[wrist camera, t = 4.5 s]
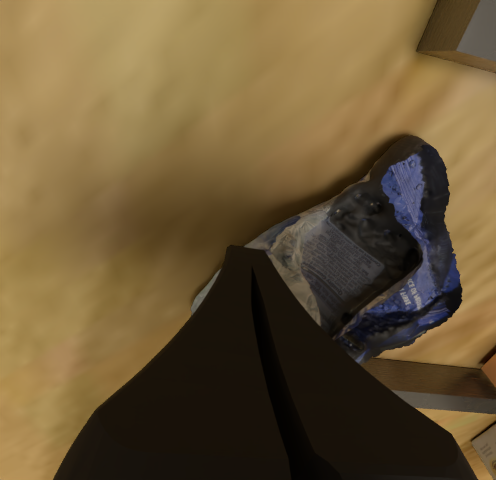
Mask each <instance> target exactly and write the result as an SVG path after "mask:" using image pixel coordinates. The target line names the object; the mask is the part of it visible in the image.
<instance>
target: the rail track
mask: <svg viewBox="0 0 496 480" xmlns="http://www.w3.org/2000/svg"><path fill="white" fill-rule="evenodd" d="M416 52H420V53H424V54H427V55H431V56H435V57H438V58H442V59H446V60H450V61H453V62H457V63H461V64H465V65H468V66H472V67H476V68H479V69H483V70H487V71H491V72H494V73H496V0H438V2H437V4H436V7H435V9H434V11H433V14H432V16H431V18H430V21H429V23H428V25H427V28H426V30H425V32H424V35H423V37H422V39H421V42H420V44H419V46H418V49H417V51H416ZM361 366H362V367H363V368H364V369H365V370H366V371H368V372H369V373H370V374H371V375H372V376H374V377H375V378H376V379H377V380H379V381H380V382H381V383H382V384H384V385H385V386H386V387H387V388H389V389H390V390H391V391H392V392H394V393H395V394H396V395H398V396H399V397H400V398H401V399H403V400H404V401H405V402H407V403H408V404H410V405H411V406H413V407H414V408H426V409H438V410H450V411H462V412H475V413H487V414H496V387H495V386H494V384H493V383H492V382H491V381H490V379H489V378H488V377H487V375H486V374H485V373H484V372H483V370H480V369H471V368H461V367H452V366H442V365H433V364H423V363H414V362H404V361H395V360H385V359H376V358H370V360H369V361H367V362H366V363H363V364H361Z"/></svg>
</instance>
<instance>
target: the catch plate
mask: <svg viewBox="0 0 496 480" xmlns="http://www.w3.org/2000/svg"><path fill="white" fill-rule="evenodd" d="M481 369H482V370H483V372H484V373H485V374H486V375H487V377H488V378H489V379H490V381H491V382H492V383H493V384H494V386H495V387H496V354H495V355H494V356H493V357H492V358H491V359H490V360H489V361H488V362H487V363H486V364H485V365H484V366H483V367H482V368H481Z"/></svg>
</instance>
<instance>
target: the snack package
mask: <svg viewBox="0 0 496 480" xmlns="http://www.w3.org/2000/svg"><path fill="white" fill-rule="evenodd" d="M448 186H449V182H448V179H447V173H446V167H445V164H444V162H443V160H442V158H441V157H440V156H439V154H438V152H437V150H436V149H435V148H433V147H432V146H431V145H429V144H428V143H426V142H425V141H424V140H422V139H421V138H419V137H417V136H413V135H409V136H406V137H404V138H402V139H400V140H399V141H397V142H395V143H394V144H393V145H391V146H390V147H389V149H388V150H387V151H386V152H385V153H384V154H383V155H382V156H381V158H380V159H379V160H378V161H376V162H375V163H374V166H373V167H372V168H371V169H370V171H369V172H368V174H367V175H365V176H364V177H363V178H361V180H360V181H358V182H357V183H354V184H351V185H350V186H348V187H346V188H345V189H344V190H343V191H342V193H340V194H339V195H337V196H334V197H333V198H332V199H330V200H329V201H326V202H323V203H320V204H318V205H316V206H314V207H312V208H310V209H309V210H306V211H304V212H302V213H300V214H298V215H295V216H293V217H290V218H288V219H286V220H284V221H282V222H281V223H279V224H276V225H274V226H273V227H271V228H270V229H268V230H267V231H265V232H264V233H262V234H261V235H259V236H258V237H257V238H256V239H254V240H253V241H251V242H250V243H249V244H246V245H245V246H244V247H247V248H254V249H260V250H264V251H265V252H266V254H267V255H268V257H269V258H270V260H271V261H272V263H273V265H274V266H275V268H276V269H277V271H278V272H279V274H280V276H281V277H282V279H283V280H284V282H285V283H286V284H287V286H288V287H289V289H290V290H291V291H292V293H293V294H294V296H295V297H296V298H297V300H298V301H299V302H300V303H301V305H302V306H303V307H304V308H305V310H306V311H307V312H308V313H309V314H310V316H311V317H312V318H313V319H314V320H315V321H316V322H317V324H318V325H319V326H320V327H321V328H322V329H323V330H324V331H325V332H326V333H327V334H328V335H329V336H330V337H331V338H332V339H333V340H334V341H335V342H336V343H337V344H338V345H339V346H340V347H341V348H342V349H343V350H344V351H345V352H346V353H347V354H348V355H350V356H351V357H352V358H353V359H354V360H355V361H356V362H357V363H358V364H359V365H361V364H363V363H366V362H367V361H369V360H370V358H371V357H376V356H379V355H380V354H381V353H382V352H383V351H385V350H391V349H395V348H401V347H403V346H409V345H410V344H413V343H414V342H415V339H416V338H418V337H421V336H422V334H424V333H426V332H427V330H430V329H433V328H435V327H438V326H440V325H441V324H442V323H444V322H446V321H447V320H448V318H450V317H452V315H453V313H455V311H456V310H457V309H458V308H459V306H460V304H461V302H462V299H461V297H462V295H461V294H462V287H461V284H460V279H459V278H460V274H459V271H458V270H457V268H456V259H455V256H456V254H453V253H452V252H453V250H454V249H453V248H452V243H451V240H450V237H449V232H448V231H447V229H446V225H445V222H444V218H445V215H444V212H445V211H446V206H448V202H449V195H450V192H449V190H448ZM220 270H221V269H220ZM220 270H219V271H218V272H217V273H216V274H215V275H214V277H213V278H212V280H211V281H210V282H209V283H208V285H207V286H206V287H205V288H204V289H203V290H202V291H201V292H200V293H199V294H198V295H197V296H196V297H195V300H194V302H193V305H192V306H191V311H192V315H193V313H194V312H195V311H196V309H197V308H198V307H199V305H200V304H201V302H202V301H203V300H204V298H205V296H206V295H207V293H208V292H209V290H210V288H211V287H212V285H213V284H214V282H215V280H216V278H217V276H218V274H219V272H220ZM192 315H191V316H192Z"/></svg>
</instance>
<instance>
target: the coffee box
mask: <svg viewBox="0 0 496 480" xmlns="http://www.w3.org/2000/svg"><path fill="white" fill-rule="evenodd" d="M472 445H473V447H474V449H475V450H476V452H477V453H478V455H479V457H480V458H481V460H482V462H483V463H484V465H485V466H486V468H487V470H488V471H489V473H490V475H491V476H492V478H493V480H496V424H495V425H493V426H492V427H491V428H489V429H488V430H487V431H485V432H484V433H482V434H481V435H480V436H478V437H477V438H475V439H474V440H473V441H472Z"/></svg>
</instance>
